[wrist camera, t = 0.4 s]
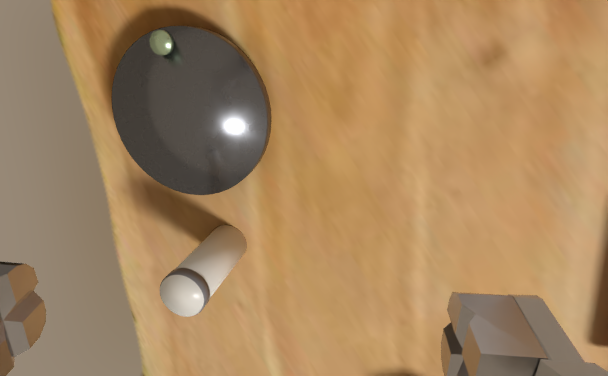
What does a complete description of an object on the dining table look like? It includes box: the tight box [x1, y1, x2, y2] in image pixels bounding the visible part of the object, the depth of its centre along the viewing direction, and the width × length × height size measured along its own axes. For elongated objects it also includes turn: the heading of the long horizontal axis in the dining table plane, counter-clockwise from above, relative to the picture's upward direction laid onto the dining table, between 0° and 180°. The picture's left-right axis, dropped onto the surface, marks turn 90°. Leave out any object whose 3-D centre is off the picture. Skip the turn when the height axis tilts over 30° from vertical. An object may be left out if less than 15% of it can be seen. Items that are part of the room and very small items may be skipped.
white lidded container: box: [160, 225, 247, 317], centre depth 50 cm, size 5×5×12 cm
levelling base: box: [112, 26, 271, 195], centre depth 48 cm, size 18×18×4 cm
